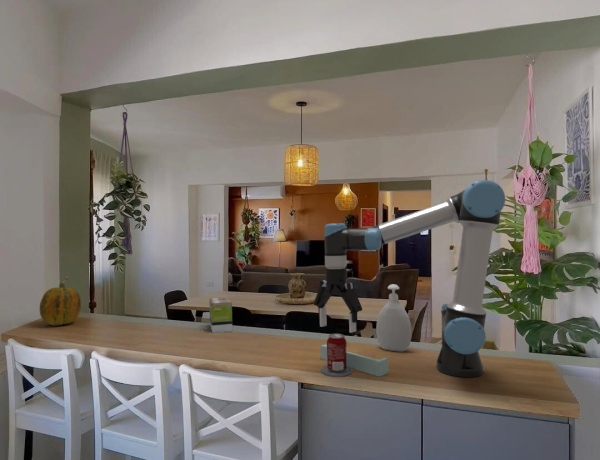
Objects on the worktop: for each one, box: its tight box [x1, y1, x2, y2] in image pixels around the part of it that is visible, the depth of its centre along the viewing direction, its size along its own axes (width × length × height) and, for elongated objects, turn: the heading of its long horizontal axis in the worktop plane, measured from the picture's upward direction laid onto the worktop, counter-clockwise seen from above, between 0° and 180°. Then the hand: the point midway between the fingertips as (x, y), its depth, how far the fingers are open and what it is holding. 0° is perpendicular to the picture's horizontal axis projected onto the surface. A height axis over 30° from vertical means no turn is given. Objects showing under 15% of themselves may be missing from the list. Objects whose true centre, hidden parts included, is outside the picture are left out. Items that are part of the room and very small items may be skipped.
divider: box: [320, 343, 389, 378], centre depth 147 cm, size 27×5×5 cm, turn 43°
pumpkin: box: [39, 275, 82, 327], centre depth 214 cm, size 19×19×25 cm
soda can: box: [326, 333, 347, 372], centre depth 141 cm, size 7×7×12 cm
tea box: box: [209, 296, 233, 334], centre depth 204 cm, size 15×10×15 cm
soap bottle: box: [375, 283, 413, 353], centre depth 167 cm, size 14×8×27 cm, turn 62°
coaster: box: [320, 365, 353, 378], centre depth 141 cm, size 11×11×1 cm
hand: (337, 329), depth 140 cm, fingers open, 13 cm apart
